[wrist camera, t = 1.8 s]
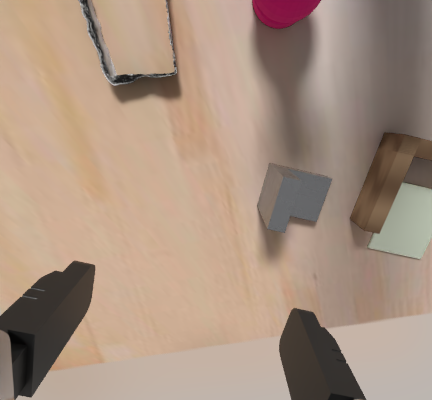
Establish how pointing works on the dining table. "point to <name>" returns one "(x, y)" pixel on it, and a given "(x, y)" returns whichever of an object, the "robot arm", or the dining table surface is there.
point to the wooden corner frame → (387, 178)
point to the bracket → (291, 196)
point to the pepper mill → (283, 11)
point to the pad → (407, 223)
